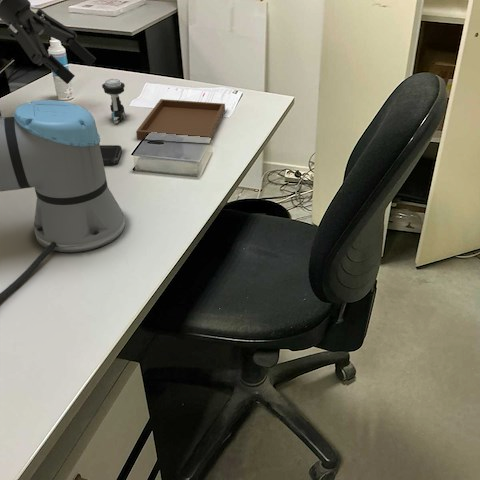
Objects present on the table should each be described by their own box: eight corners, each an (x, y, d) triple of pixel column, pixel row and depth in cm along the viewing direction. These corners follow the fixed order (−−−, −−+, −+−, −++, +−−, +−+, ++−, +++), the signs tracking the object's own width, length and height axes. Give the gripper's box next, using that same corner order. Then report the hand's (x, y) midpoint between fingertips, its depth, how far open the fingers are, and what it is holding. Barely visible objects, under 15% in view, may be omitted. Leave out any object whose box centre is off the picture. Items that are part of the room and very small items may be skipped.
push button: (126, 125, 140) (120, 87, 135) (104, 125, 140) (98, 86, 134) (131, 115, 146) (125, 77, 140) (110, 114, 145) (103, 77, 139)
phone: (116, 160, 122) (44, 160, 120) (117, 165, 122) (45, 165, 120) (122, 145, 128) (54, 145, 126) (123, 149, 129) (55, 149, 127)
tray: (209, 144, 134) (209, 136, 133) (137, 139, 134) (136, 131, 133) (225, 111, 152) (224, 103, 150) (161, 106, 152) (160, 99, 150)
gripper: (-16, 1, 115) (70, 77, 124) (39, -20, 136) (109, 46, 144) (-34, 26, 118) (51, 98, 127) (23, 1, 139) (92, 65, 147)
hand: (82, 71), depth 136 cm, fingers open, 13 cm apart
